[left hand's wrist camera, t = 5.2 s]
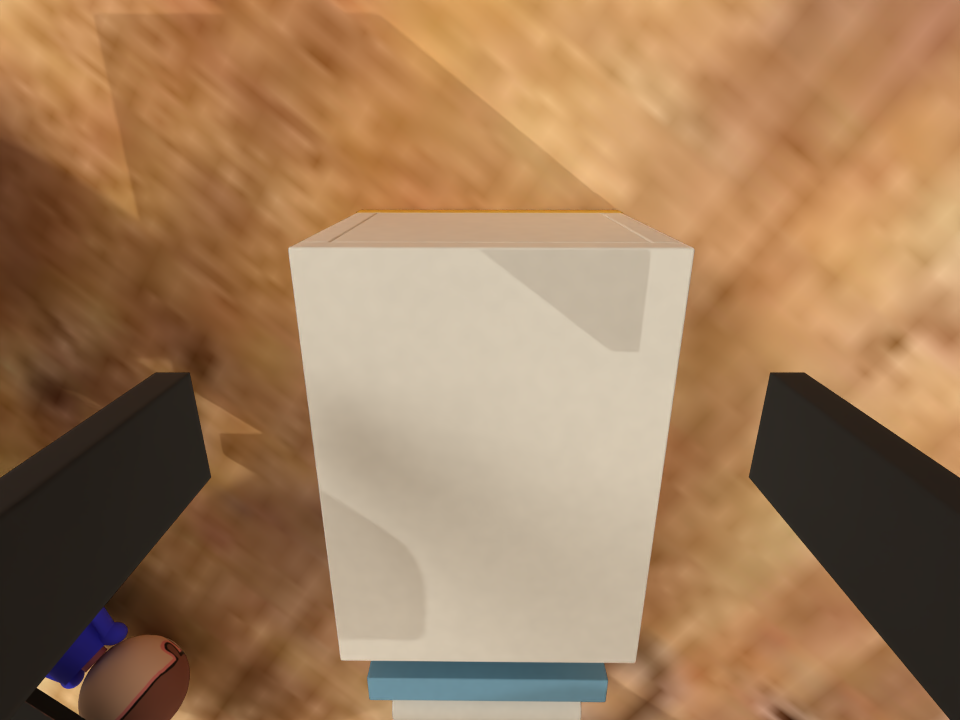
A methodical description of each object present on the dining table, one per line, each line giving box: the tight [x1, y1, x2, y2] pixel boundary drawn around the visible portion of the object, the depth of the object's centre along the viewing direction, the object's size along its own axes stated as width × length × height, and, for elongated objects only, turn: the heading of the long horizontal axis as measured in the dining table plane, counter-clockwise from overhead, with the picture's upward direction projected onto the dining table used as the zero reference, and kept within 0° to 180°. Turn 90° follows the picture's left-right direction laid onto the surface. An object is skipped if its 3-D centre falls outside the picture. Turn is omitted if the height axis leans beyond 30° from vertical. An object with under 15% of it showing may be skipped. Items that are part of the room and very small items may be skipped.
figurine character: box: [10, 607, 190, 720], centre depth 26 cm, size 7×8×15 cm
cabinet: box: [288, 210, 694, 663], centre depth 21 cm, size 14×10×9 cm
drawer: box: [367, 661, 608, 720], centre depth 23 cm, size 19×9×7 cm, turn 0°
